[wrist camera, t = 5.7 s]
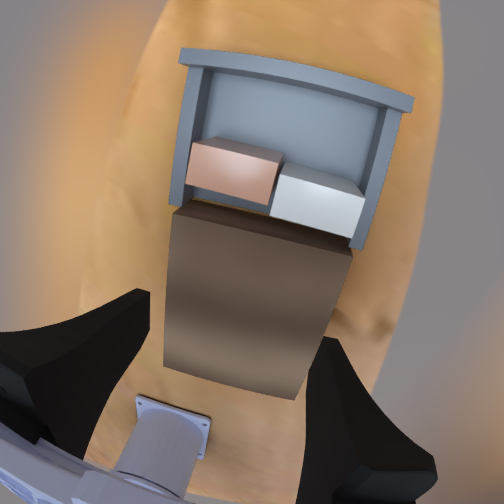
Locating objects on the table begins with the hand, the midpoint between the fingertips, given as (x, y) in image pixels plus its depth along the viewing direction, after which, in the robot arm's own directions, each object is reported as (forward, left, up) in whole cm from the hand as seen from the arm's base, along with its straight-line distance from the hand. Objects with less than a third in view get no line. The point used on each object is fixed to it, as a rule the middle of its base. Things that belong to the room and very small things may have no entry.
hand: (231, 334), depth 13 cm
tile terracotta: (+4, +2, -6) cm, 8 cm away
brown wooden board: (-4, 0, -9) cm, 10 cm away
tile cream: (+4, -2, -6) cm, 8 cm away
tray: (+7, 0, -9) cm, 11 cm away
